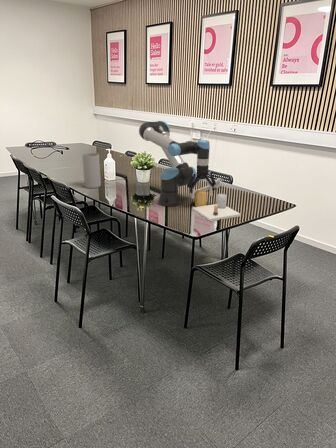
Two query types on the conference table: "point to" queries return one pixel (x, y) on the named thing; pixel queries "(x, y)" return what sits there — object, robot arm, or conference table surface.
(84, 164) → the cylinder vase
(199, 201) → the wire cap
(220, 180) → the wrench
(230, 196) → the conference table surface
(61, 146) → the conference table surface
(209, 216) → the plate
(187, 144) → the robot arm
